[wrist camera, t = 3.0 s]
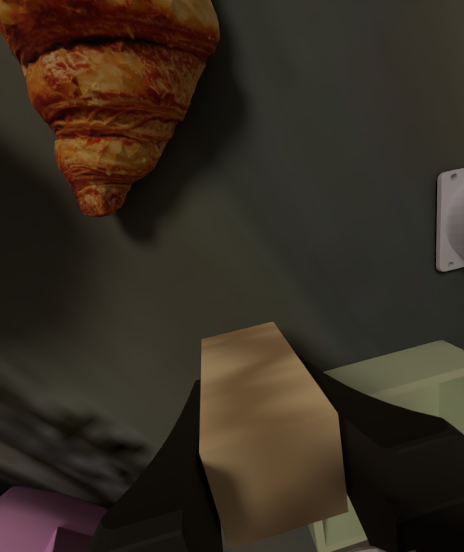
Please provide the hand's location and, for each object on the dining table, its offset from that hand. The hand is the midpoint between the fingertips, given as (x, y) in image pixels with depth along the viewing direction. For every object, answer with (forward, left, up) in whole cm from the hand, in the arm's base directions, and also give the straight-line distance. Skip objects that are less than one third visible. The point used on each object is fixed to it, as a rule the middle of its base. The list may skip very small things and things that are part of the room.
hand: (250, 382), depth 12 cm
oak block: (0, 0, -2) cm, 2 cm away
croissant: (+2, -20, -7) cm, 21 cm away
